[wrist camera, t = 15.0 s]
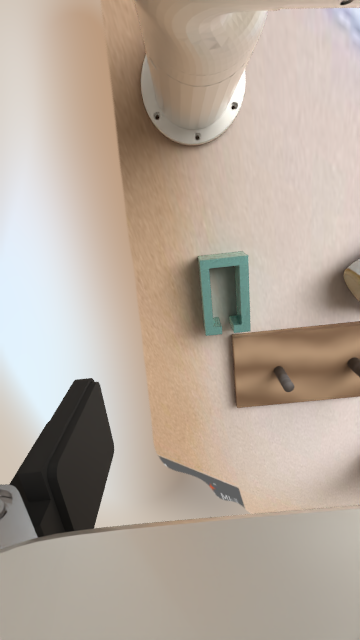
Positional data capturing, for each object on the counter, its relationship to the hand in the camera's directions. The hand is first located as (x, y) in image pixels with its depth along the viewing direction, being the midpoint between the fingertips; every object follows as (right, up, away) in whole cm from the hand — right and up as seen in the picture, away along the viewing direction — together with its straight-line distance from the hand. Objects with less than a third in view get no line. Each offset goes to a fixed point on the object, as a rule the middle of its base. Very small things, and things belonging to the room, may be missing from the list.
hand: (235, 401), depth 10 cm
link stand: (+18, -4, +40) cm, 44 cm away
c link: (+5, +7, +36) cm, 37 cm away
